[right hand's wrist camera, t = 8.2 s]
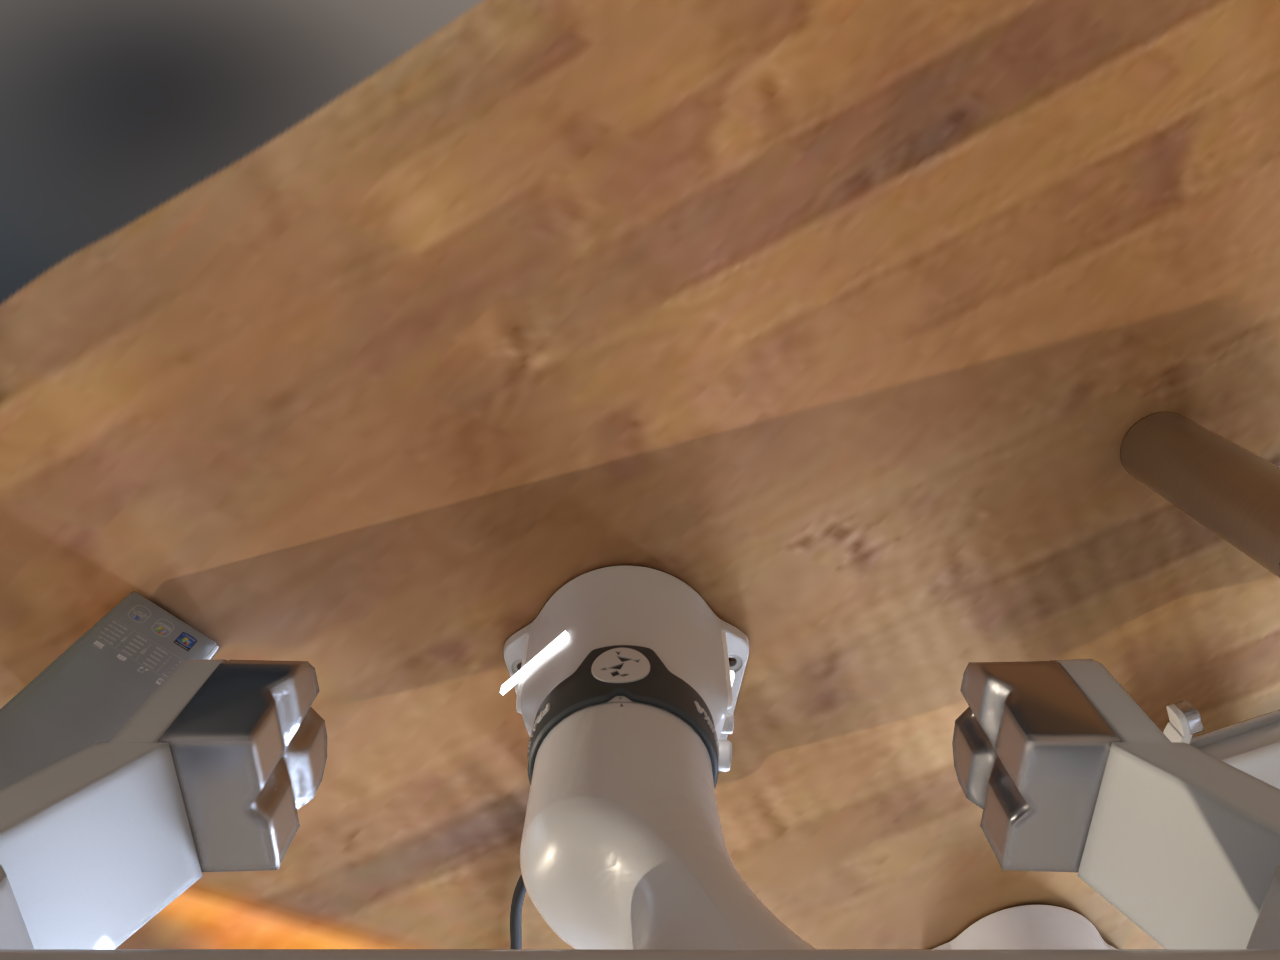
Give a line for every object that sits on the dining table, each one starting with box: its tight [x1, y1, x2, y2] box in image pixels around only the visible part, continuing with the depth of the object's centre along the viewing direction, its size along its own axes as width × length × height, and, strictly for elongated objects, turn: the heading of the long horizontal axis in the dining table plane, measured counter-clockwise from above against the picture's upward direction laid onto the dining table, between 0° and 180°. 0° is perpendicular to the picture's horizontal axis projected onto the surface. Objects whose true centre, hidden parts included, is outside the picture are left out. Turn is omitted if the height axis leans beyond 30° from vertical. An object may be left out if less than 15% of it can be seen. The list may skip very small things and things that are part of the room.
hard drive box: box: [0, 592, 219, 789], centre depth 57 cm, size 16×8×20 cm, turn 139°
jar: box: [1120, 412, 1280, 578], centre depth 51 cm, size 5×5×18 cm
